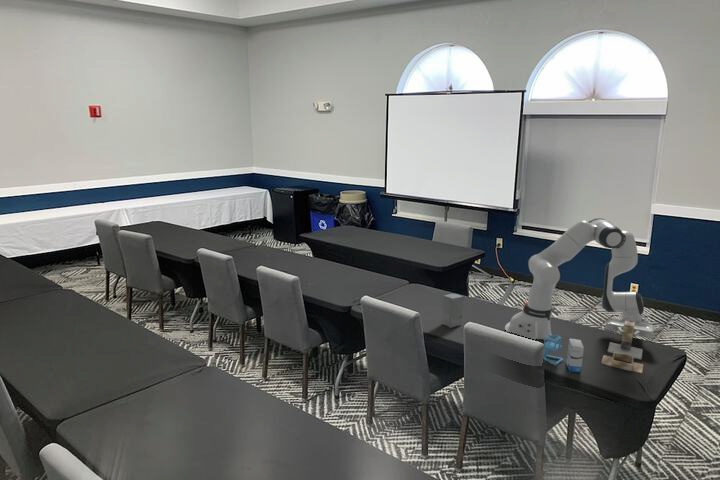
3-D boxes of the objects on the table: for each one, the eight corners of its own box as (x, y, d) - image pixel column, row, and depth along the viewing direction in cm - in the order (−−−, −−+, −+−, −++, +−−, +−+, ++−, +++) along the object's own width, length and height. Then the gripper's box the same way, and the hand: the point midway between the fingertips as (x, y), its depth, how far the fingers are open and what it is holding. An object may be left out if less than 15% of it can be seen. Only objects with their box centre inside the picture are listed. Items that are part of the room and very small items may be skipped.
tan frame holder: (600, 363, 232) (601, 357, 231) (603, 355, 240) (604, 349, 239) (641, 373, 224) (643, 367, 224) (643, 365, 232) (644, 358, 231)
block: (620, 348, 243) (624, 324, 240) (621, 344, 247) (625, 320, 244) (630, 350, 241) (633, 326, 238) (630, 346, 245) (634, 322, 242)
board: (607, 351, 244) (607, 349, 244) (609, 343, 252) (610, 342, 252) (641, 359, 237) (641, 357, 237) (642, 351, 245) (642, 349, 245)
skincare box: (450, 328, 266) (452, 299, 262) (440, 323, 272) (442, 294, 268) (462, 325, 271) (464, 296, 267) (453, 320, 277) (454, 292, 273)
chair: (545, 354, 241) (548, 330, 238) (563, 360, 235) (566, 335, 232) (537, 359, 235) (540, 334, 232) (555, 366, 230) (558, 340, 227)
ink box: (581, 373, 224) (584, 347, 221) (569, 371, 225) (572, 346, 222) (577, 363, 232) (580, 339, 229) (565, 362, 233) (568, 338, 230)
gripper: (607, 313, 257) (604, 322, 246) (654, 322, 247) (653, 332, 236) (605, 325, 259) (602, 335, 247) (652, 334, 249) (651, 345, 237)
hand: (627, 334), depth 242 cm, fingers closed on block, 4 cm apart
